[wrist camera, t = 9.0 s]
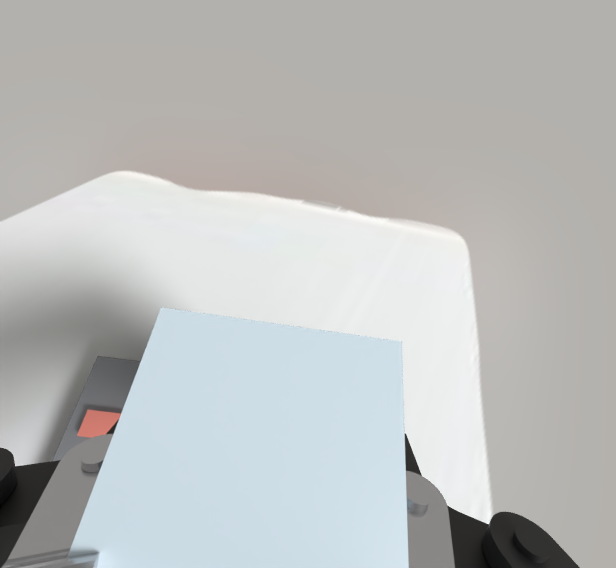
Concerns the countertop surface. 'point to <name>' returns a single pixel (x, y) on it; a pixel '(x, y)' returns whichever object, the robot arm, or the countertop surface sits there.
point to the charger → (254, 452)
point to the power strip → (99, 402)
